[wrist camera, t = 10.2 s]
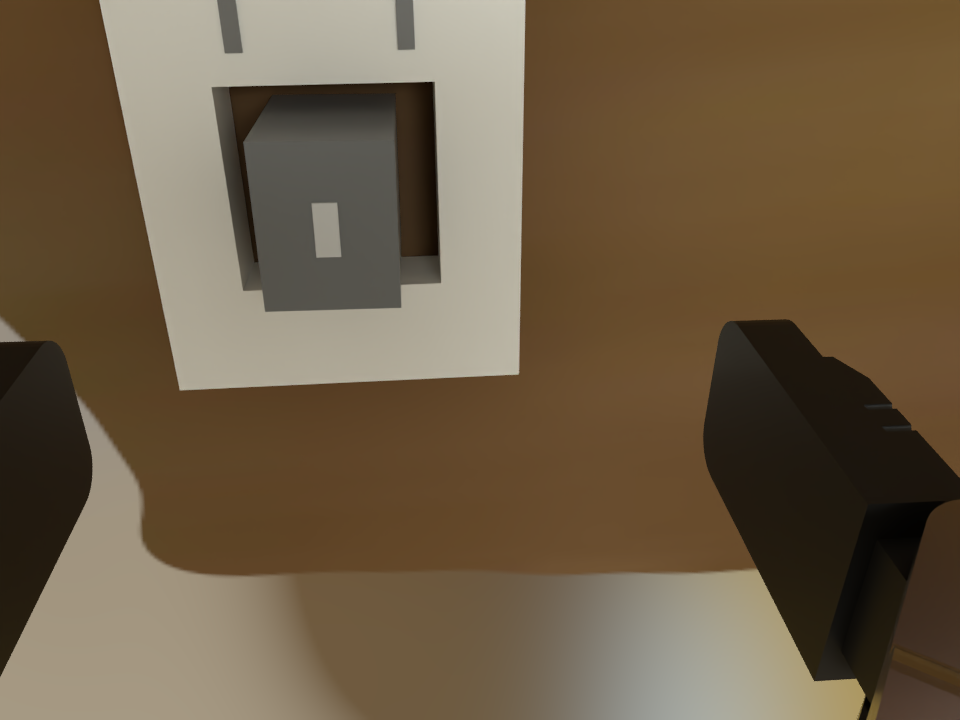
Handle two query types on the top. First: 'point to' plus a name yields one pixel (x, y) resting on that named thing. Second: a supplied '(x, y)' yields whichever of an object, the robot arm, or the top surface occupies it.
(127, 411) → the top surface
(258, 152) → the block
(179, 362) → the outlet plate
